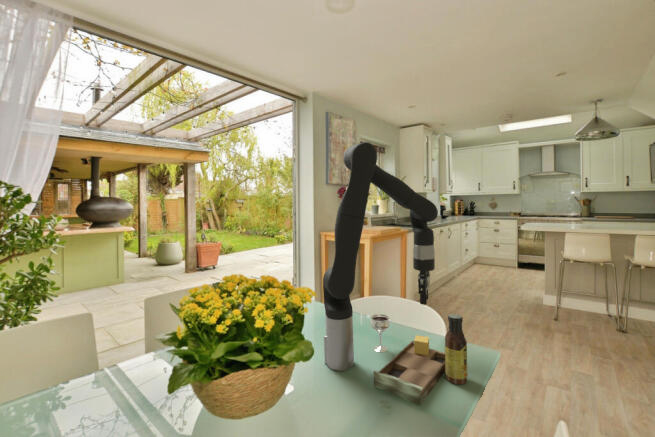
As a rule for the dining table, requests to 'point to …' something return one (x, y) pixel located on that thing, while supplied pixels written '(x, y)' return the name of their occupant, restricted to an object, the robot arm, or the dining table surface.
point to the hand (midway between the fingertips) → (424, 301)
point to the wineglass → (380, 328)
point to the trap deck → (411, 374)
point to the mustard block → (421, 345)
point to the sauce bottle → (455, 351)
